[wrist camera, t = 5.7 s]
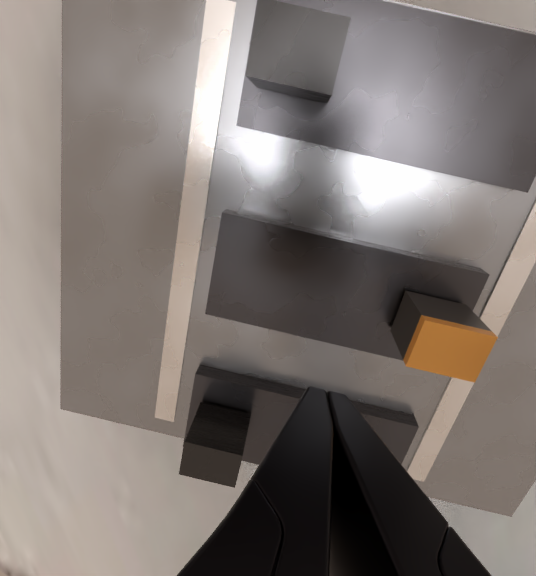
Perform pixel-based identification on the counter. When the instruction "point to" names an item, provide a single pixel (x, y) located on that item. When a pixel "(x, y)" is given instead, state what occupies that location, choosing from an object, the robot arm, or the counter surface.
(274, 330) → the breaker panel
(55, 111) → the counter surface
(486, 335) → the block
